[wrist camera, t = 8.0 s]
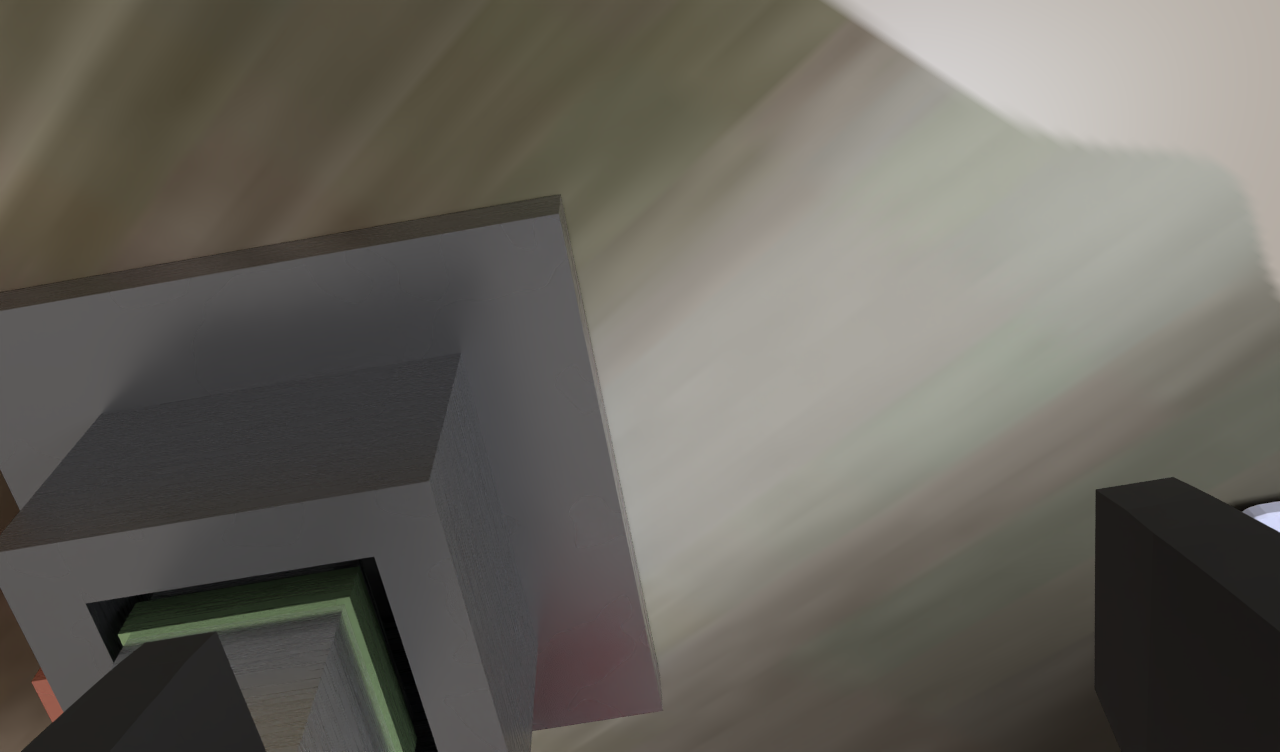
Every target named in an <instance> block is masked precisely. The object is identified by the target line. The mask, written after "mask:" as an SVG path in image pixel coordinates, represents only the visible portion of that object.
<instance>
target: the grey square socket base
mask: <svg viewBox="0 0 1280 752" xmlns="http://www.w3.org/2000/svg"><path fill="white" fill-rule="evenodd" d="M0 470H1V472H2V474H3V476H4V478H5V480H6V482H7V484H8V487H9V489H10V491H11V493H12V495H13V497H14V499H15V501H16V503H17V505H18V507H19V509H20V512H19V513H18V514H17V515H16V516H15V518H14V519H13V520H12V521H11V522H10V524H9V525H8V526H7V527H6V529H5V530H4V531H3V532H2V533H1V535H0V588H1V590H2V592H3V594H4V596H5V598H6V600H7V602H8V604H9V606H10V608H11V610H12V612H13V614H14V616H15V618H16V620H17V622H18V624H19V626H20V628H21V630H22V632H23V634H24V635H25V637H26V639H27V641H28V643H29V645H30V647H31V649H32V651H33V653H34V655H35V657H36V659H37V661H38V663H39V665H40V667H41V668H40V669H39V671H38V672H37V674H36V675H35V677H34V678H33V680H32V681H31V682H32V684H33V686H34V688H35V690H36V692H37V694H38V696H39V698H40V700H41V702H42V703H43V705H44V707H45V709H46V711H47V713H48V715H49V717H50V719H51V721H52V723H53V722H54V721H55V720H56V719H57V718H58V717H59V716H60V715H61V714H62V713H63V712H65V711H66V710H67V709H68V708H69V707H70V706H71V705H72V704H73V703H74V702H76V701H77V700H78V699H79V698H80V697H81V696H82V695H83V694H84V693H86V692H87V691H88V690H89V689H90V688H91V687H92V686H93V685H95V684H96V683H97V682H98V681H99V680H100V679H101V678H103V677H104V676H105V675H106V674H107V673H108V672H109V671H110V669H111V667H112V665H113V664H114V662H115V660H116V658H117V657H118V655H119V653H120V651H121V650H122V648H123V645H122V643H121V641H120V638H119V636H118V633H119V631H120V630H121V628H122V626H123V624H124V623H125V621H126V619H127V618H128V616H129V614H130V613H131V611H132V609H133V607H134V606H135V604H136V603H137V602H143V601H149V600H150V599H151V597H152V595H153V594H154V592H160V591H166V590H172V589H178V588H184V587H190V586H196V585H203V584H209V583H215V582H221V581H227V580H233V579H239V578H246V577H252V576H258V575H264V574H270V573H276V572H282V571H289V570H295V569H301V568H307V567H313V566H319V565H325V564H332V563H338V562H344V561H350V560H356V559H362V562H363V565H364V568H365V571H366V574H367V577H368V580H369V583H370V586H371V589H372V592H373V595H374V598H375V601H376V604H377V607H378V610H379V613H380V616H381V619H382V622H383V625H384V628H385V631H386V634H387V637H388V640H389V643H390V646H391V649H392V652H393V655H394V658H395V661H396V664H397V667H398V670H399V673H400V676H401V679H402V682H403V685H404V688H405V691H406V694H407V697H408V700H409V703H410V706H411V709H412V712H413V718H412V725H413V728H414V731H415V734H416V737H417V742H416V747H415V752H530V751H531V737H532V731H535V730H542V729H548V728H555V727H561V726H568V725H574V724H580V723H587V722H593V721H600V720H606V719H613V718H619V717H626V716H632V715H638V714H645V713H651V712H658V711H663V709H662V695H661V682H660V673H659V668H658V663H657V659H656V654H655V649H654V644H653V639H652V634H651V630H650V625H649V620H648V615H647V610H646V605H645V601H644V596H643V591H642V586H641V581H640V576H639V572H638V567H637V562H636V557H635V552H634V547H633V542H632V538H631V533H630V528H629V523H628V518H627V513H626V509H625V504H624V499H623V494H622V489H621V484H620V480H619V475H618V470H617V465H616V460H615V455H614V451H613V446H612V441H611V436H610V431H609V426H608V422H607V417H606V412H605V407H604V402H603V397H602V392H601V388H600V383H599V378H598V373H597V368H596V363H595V359H594V354H593V349H592V344H591V339H590V334H589V330H588V325H587V320H586V315H585V310H584V305H583V301H582V296H581V291H580V286H579V281H578V276H577V272H576V267H575V262H574V257H573V252H572V247H571V243H570V238H569V233H568V228H567V223H566V218H565V213H564V209H563V204H562V199H561V194H560V195H554V196H549V197H543V198H537V199H532V200H526V201H520V202H514V203H509V204H503V205H497V206H492V207H486V208H480V209H474V210H469V211H463V212H457V213H452V214H446V215H440V216H434V217H429V218H423V219H417V220H412V221H406V222H400V223H395V224H389V225H383V226H377V227H372V228H366V229H360V230H355V231H349V232H343V233H337V234H332V235H326V236H320V237H315V238H309V239H303V240H297V241H292V242H286V243H280V244H275V245H269V246H263V247H257V248H252V249H246V250H240V251H235V252H229V253H223V254H218V255H212V256H206V257H200V258H195V259H189V260H183V261H178V262H172V263H166V264H160V265H155V266H149V267H143V268H138V269H132V270H126V271H120V272H115V273H109V274H103V275H98V276H92V277H86V278H80V279H75V280H69V281H63V282H58V283H52V284H46V285H41V286H35V287H29V288H23V289H18V290H12V291H6V292H1V293H0Z"/></svg>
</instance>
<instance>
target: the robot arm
mask: <svg viewBox="0 0 1280 752" xmlns="http://www.w3.org/2000/svg"><path fill="white" fill-rule="evenodd" d="M1095 691H1096V693H1097V695H1098V698H1099V700H1100V702H1101V705H1102V707H1103V709H1104V712H1105V714H1106V716H1107V719H1108V721H1109V724H1110V726H1111V728H1112V731H1113V733H1114V735H1115V738H1116V740H1117V742H1118V745H1119V747H1120V749H1121V752H1280V501H1278V502H1271V503H1265V504H1259V505H1255V506H1252V507H1249V508H1247V509H1245V510H1244V511H1242V512H1241V511H1239V510H1237V509H1236V508H1234V507H1232V506H1230V505H1228V504H1226V503H1224V502H1222V501H1220V500H1219V499H1217V498H1215V497H1213V496H1211V495H1209V494H1207V493H1205V492H1203V491H1201V490H1199V489H1197V488H1195V487H1193V486H1191V485H1189V484H1187V483H1185V482H1182V481H1180V480H1178V479H1176V478H1174V477H1171V478H1165V479H1159V480H1152V481H1146V482H1140V483H1134V484H1128V485H1121V486H1115V487H1109V488H1103V489H1097V490H1096V528H1095ZM21 752H266V750H265V747H264V745H263V742H262V740H261V737H260V735H259V733H258V730H257V728H256V725H255V723H254V721H253V718H252V716H251V713H250V711H249V709H248V706H247V704H246V701H245V699H244V696H243V694H242V692H241V689H240V687H239V684H238V682H237V680H236V677H235V675H234V672H233V670H232V668H231V665H230V663H229V660H228V658H227V656H226V653H225V651H224V648H223V646H222V643H221V641H220V639H219V636H218V634H217V631H214V632H208V633H202V634H196V635H190V636H183V637H177V638H171V639H165V640H158V641H152V642H146V643H144V644H143V645H141V646H140V647H139V648H138V649H136V650H135V651H134V652H133V653H131V654H130V655H129V656H127V657H126V658H125V659H124V660H122V661H121V662H120V663H119V664H118V665H116V666H115V667H114V668H113V669H112V670H111V671H109V672H108V673H107V674H106V675H105V676H104V677H103V678H101V679H100V680H99V681H98V682H97V683H96V684H95V685H93V686H92V687H91V688H90V689H89V690H88V691H87V692H86V693H84V694H83V695H82V696H81V697H80V698H79V699H78V700H77V701H76V702H74V703H73V704H72V705H71V706H70V707H69V708H68V709H67V710H66V711H65V712H63V713H62V714H61V715H60V716H59V717H58V718H57V719H56V720H55V721H54V722H53V723H51V724H50V725H49V726H48V727H47V728H46V729H45V730H44V731H43V732H42V733H41V734H39V735H38V736H37V737H36V738H35V739H34V740H33V741H32V742H31V743H30V744H29V745H28V746H26V747H25V748H24V749H23V750H22V751H21Z"/></svg>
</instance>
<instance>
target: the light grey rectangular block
mask: <svg viewBox="0 0 1280 752" xmlns="http://www.w3.org/2000/svg"><path fill="white" fill-rule="evenodd" d="M214 631H217V634H218V636H219V639H220V641H221V643H222V646H223V648H224V651H225V653H226V656H227V658H228V660H229V663H230V665H231V668H232V670H233V672H234V675H235V677H236V680H237V682H238V684H239V687H240V689H241V692H242V694H243V696H244V699H245V701H246V704H247V706H248V709H249V711H250V713H251V716H252V718H253V721H254V723H255V725H256V728H257V730H258V733H259V735H260V737H261V740H262V742H263V745H264V747H265V750H266V752H415V747H416V742H417V737H416V734H415V731H414V728H413V725H412V718H413V712H412V709H411V706H410V703H409V700H408V697H407V694H406V691H405V688H404V685H403V682H402V679H401V676H400V673H399V670H398V667H397V664H396V661H395V658H394V655H393V652H392V649H391V646H390V643H389V640H388V637H387V634H386V631H385V628H384V625H383V622H382V619H381V616H380V613H379V610H378V607H377V604H376V601H375V598H374V595H373V592H372V589H371V586H370V583H369V580H368V577H367V574H366V571H365V568H364V565H363V562H362V559H356V560H350V561H344V562H338V563H332V564H325V565H319V566H313V567H307V568H301V569H295V570H289V571H282V572H276V573H270V574H264V575H258V576H252V577H246V578H239V579H233V580H227V581H221V582H215V583H209V584H203V585H196V586H190V587H184V588H178V589H172V590H166V591H160V592H154V594H153V595H152V597H151V599H150V600H149V601H143V602H137V603H136V604H135V606H134V607H133V609H132V611H131V613H130V614H129V616H128V618H127V619H126V621H125V623H124V624H123V626H122V628H121V630H120V631H119V633H118V636H119V638H120V641H121V643H122V645H123V648H122V650H121V651H120V653H119V655H118V657H117V658H116V660H115V662H114V664H113V665H112V667H111V669H110V671H111V670H112V669H113V668H114V667H115V666H116V665H118V664H119V663H120V662H121V661H122V660H124V659H125V658H126V657H127V656H129V655H130V654H131V653H133V652H134V651H135V650H136V649H138V648H139V647H140V646H141V645H143V644H144V643H146V642H152V641H158V640H165V639H171V638H177V637H183V636H190V635H196V634H202V633H208V632H214Z"/></svg>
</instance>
